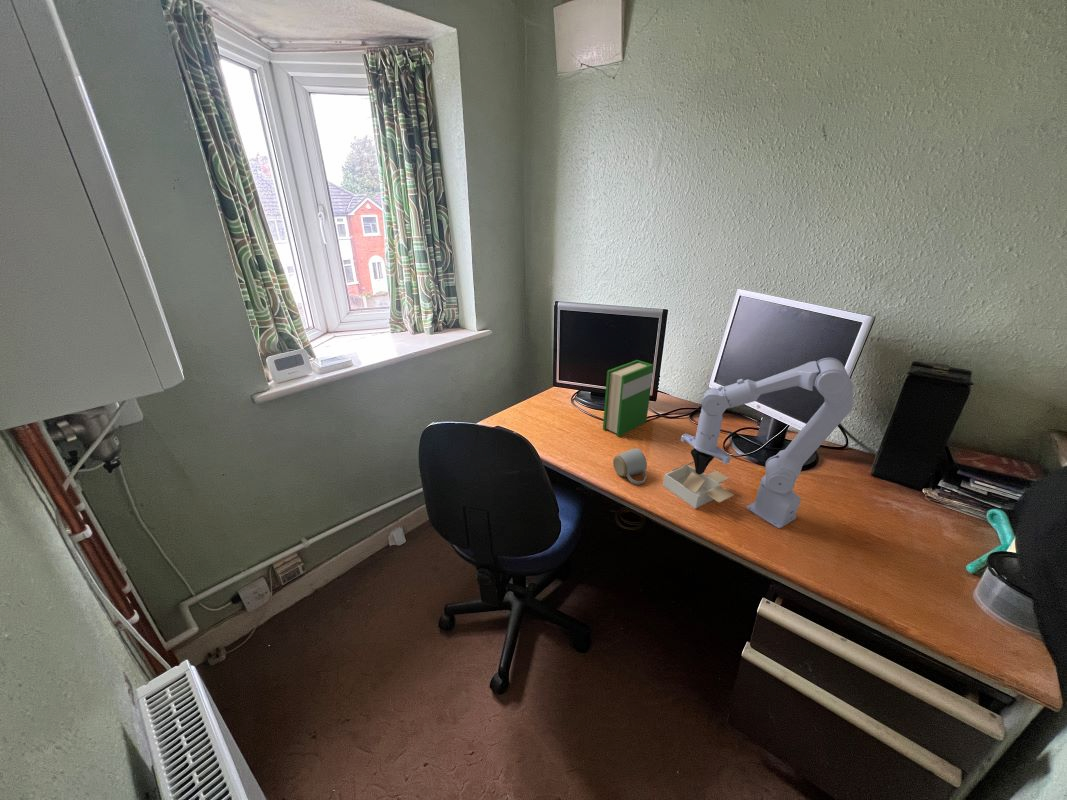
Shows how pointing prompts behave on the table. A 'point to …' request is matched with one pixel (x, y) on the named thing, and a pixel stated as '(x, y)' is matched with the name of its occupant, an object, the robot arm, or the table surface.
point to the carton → (704, 494)
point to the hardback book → (627, 396)
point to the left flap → (693, 482)
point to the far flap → (683, 466)
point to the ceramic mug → (630, 464)
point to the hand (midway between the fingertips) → (699, 472)
